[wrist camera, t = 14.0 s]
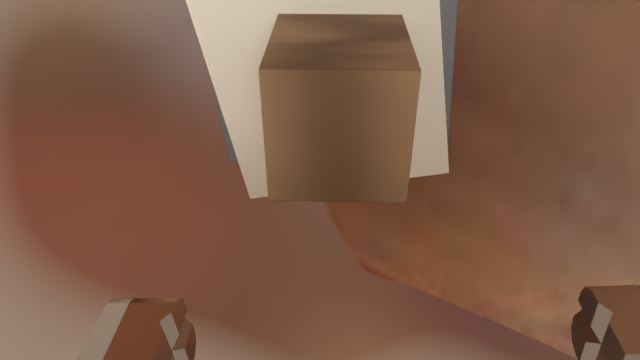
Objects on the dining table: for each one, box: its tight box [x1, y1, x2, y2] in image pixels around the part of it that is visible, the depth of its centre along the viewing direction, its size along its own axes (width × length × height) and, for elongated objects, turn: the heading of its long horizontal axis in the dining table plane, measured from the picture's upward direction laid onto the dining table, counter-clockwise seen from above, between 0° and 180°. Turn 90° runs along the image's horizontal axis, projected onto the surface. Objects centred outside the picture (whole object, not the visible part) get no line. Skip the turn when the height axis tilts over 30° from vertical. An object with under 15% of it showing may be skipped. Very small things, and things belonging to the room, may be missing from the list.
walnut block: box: [258, 14, 421, 203], centre depth 20 cm, size 5×5×6 cm
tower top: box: [186, 0, 449, 199], centre depth 24 cm, size 10×13×5 cm
